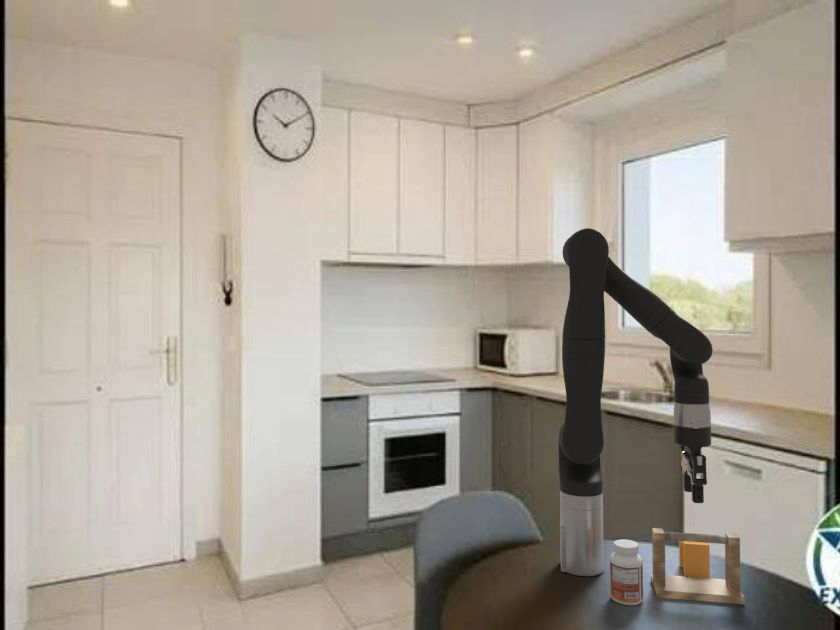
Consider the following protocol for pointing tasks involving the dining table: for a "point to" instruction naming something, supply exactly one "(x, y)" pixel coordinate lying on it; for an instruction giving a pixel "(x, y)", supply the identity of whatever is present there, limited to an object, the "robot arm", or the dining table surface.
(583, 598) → the dining table surface
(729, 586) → the rack
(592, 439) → the robot arm
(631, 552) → the pill bottle
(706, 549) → the notched orange block
